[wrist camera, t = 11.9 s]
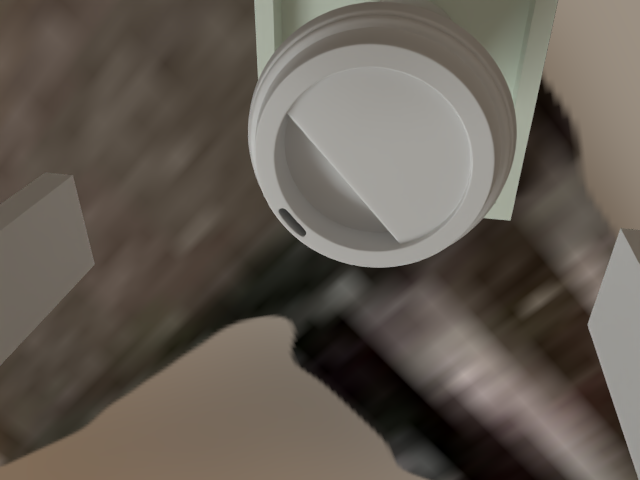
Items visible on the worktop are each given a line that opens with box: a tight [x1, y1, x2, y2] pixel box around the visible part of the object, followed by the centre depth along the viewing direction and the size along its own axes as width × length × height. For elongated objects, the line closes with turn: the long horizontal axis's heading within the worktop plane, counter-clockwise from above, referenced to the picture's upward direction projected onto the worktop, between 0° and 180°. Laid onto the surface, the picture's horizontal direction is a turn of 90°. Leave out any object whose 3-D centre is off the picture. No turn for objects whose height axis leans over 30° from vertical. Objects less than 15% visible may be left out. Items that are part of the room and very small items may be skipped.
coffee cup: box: [248, 0, 517, 267], centre depth 25 cm, size 10×10×15 cm
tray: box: [254, 0, 558, 220], centre depth 31 cm, size 17×15×2 cm
